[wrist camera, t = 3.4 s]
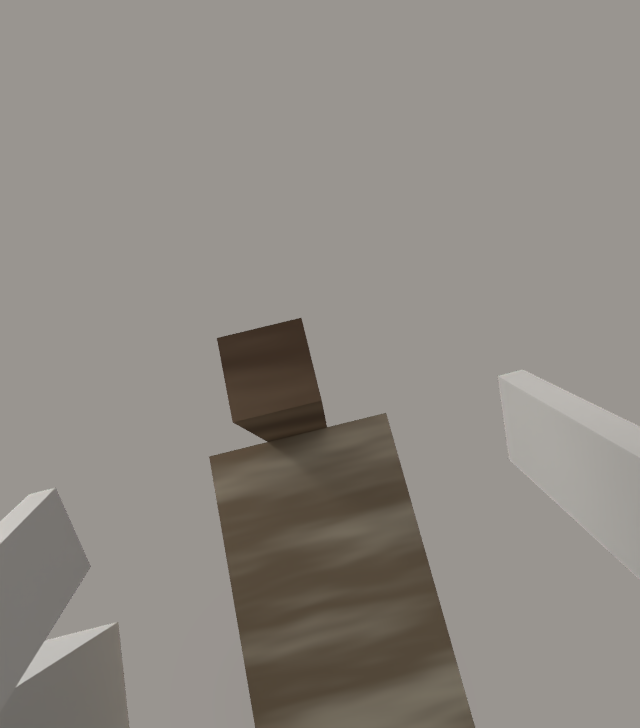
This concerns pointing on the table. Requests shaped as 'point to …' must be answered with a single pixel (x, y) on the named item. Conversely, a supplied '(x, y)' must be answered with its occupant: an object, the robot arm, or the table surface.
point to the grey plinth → (72, 684)
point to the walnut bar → (272, 381)
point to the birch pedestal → (335, 585)
